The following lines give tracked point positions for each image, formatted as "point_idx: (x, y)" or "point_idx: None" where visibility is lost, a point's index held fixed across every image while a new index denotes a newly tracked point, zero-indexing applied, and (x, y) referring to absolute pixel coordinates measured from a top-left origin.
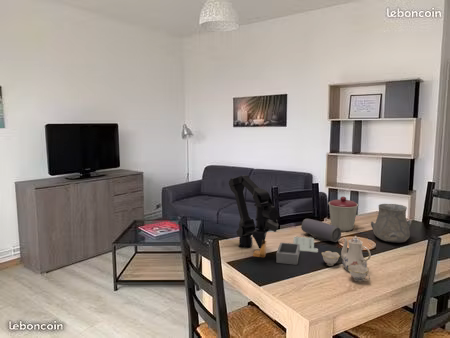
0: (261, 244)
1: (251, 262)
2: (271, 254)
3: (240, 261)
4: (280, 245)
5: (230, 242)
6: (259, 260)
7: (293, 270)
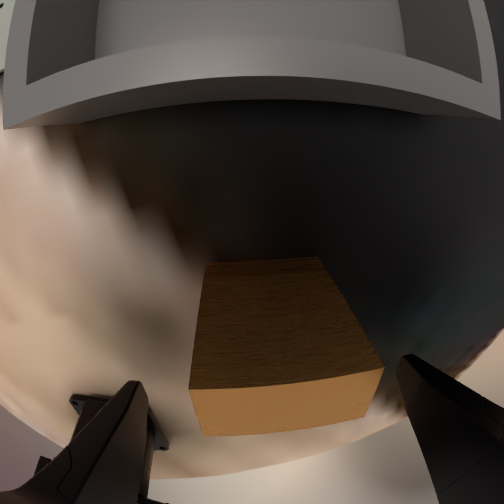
0: (463, 385)
1: (426, 321)
2: (205, 200)
3: None
4: (141, 64)
5: None
6: (394, 280)
7: None
